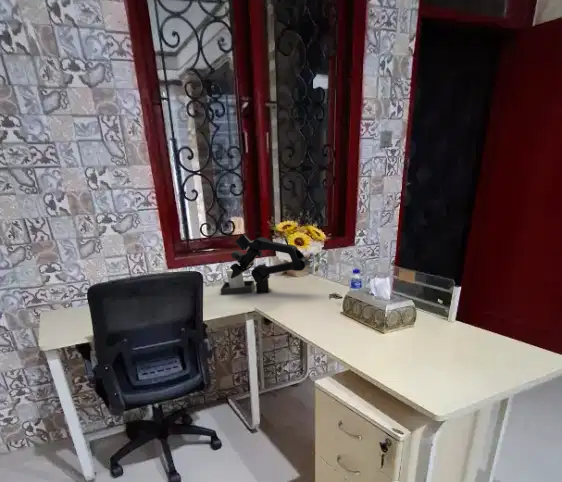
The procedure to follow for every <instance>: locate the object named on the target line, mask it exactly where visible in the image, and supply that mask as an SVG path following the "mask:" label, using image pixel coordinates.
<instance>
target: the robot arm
mask: <svg viewBox="0 0 562 482" xmlns="http://www.w3.org/2000/svg"><path fill="white" fill-rule="evenodd" d="M235 244H236V245H237V246H238V247H239V248H240V249H241V250H242V251H246V252H245V253H243V252H241V251H239V250H237V249H236V250H233V251H232V252H231V254H230V256H231V259H234V260H236V261H237V263H236V262H235V263H233V264H232V265H230V269H232V270H233V272H232V275H231V278H234V277H236V276H238V275H240V274H241V273H242V274H243V273H244V272H246V271H248V270H250V269H251V268H252V270H251V273H250V274H251V277H252V279H253V280H254V283H255V289H256V293H257V294H263V293H265V294H266V293H269V292H270V284H269V279H270V278H271V275H272V274H276V273H282V272H287V271H294V272H301V271H304V270H305V269H306V268H307V267H308V266H309V264H310V262H309V259H308V257H306V256H305V255H304V253H303V252H301V250H299V248H298V247H297V246H296V245H292V244H286V243H281V242H276V241H272V240H270V239H269V238H267V237H264V236H259V237H257V238H255V239H253V240H251V239H250V238H249V237H248V236H247V235H246V234H245V233H243V234H241V235H240V236H239V237H238V238H237V239H236V240H235ZM263 251H273V252H278V253H283V254H287V255H289V257H290V260H291V261H288V262H283V263H278V264H274V265H266V263H262V264H258V265H256V266H254V265H255V259H256V258H257V257H258V258H261V257H262V256H263ZM253 266H254V268H253Z"/></svg>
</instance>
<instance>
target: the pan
mask: <svg viewBox="0 0 562 482" xmlns="http://www.w3.org/2000/svg"><path fill="white" fill-rule="evenodd" d="M244 284H245V287H243V288H230V285H229V281H225V282H224V283H223V285H222V286H221V288H220V293H221V295H237V294H252V293H253V291H254V289H255V287H256V284H255V280H254V279H253V280H244Z"/></svg>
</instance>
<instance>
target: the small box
mask: <svg viewBox="0 0 562 482" xmlns="http://www.w3.org/2000/svg"><path fill="white" fill-rule="evenodd" d="M225 272H226V273H225V274H226V277H227V280H228V281H227V282H229V285H230V288H243V287H245V284H244V281H245V280H244V276H243V272H242V273H241V274H240V275H238V276H236V277H234V278H231V275H232V272H233V270H232V269H231V268H230V269H227V270H225Z"/></svg>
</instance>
